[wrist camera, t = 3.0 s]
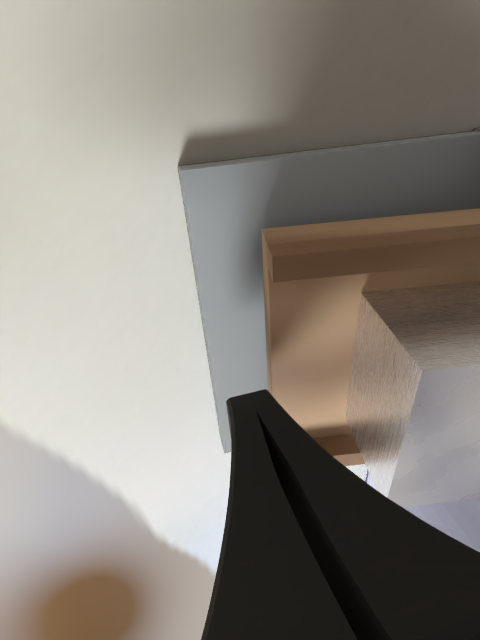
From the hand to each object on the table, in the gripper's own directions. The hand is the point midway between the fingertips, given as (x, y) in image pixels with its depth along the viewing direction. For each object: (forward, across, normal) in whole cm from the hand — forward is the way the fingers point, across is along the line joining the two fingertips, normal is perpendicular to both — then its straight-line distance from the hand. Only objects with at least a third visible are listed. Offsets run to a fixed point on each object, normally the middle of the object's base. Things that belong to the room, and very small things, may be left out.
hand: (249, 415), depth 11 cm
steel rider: (+1, -7, 0) cm, 7 cm away
